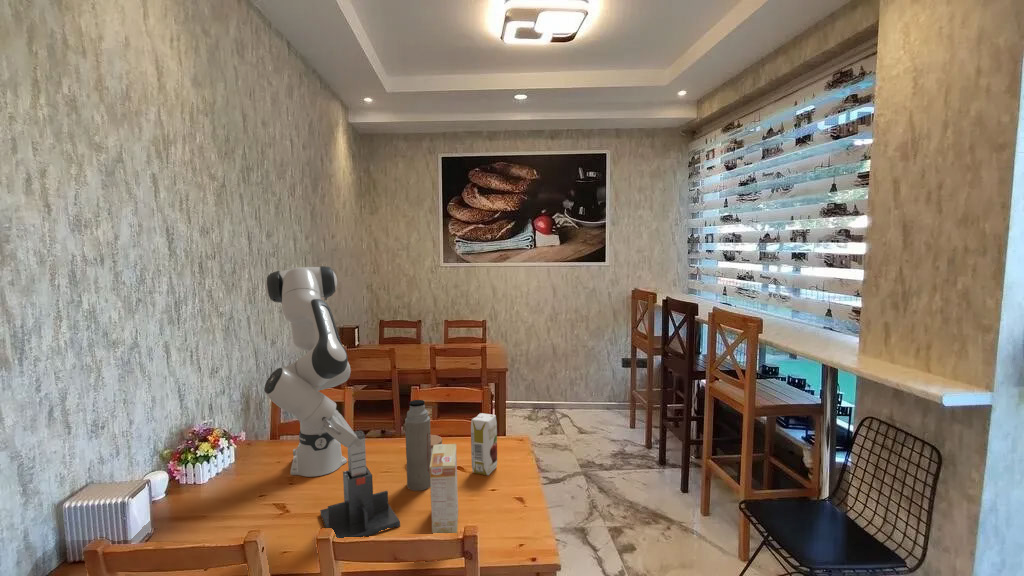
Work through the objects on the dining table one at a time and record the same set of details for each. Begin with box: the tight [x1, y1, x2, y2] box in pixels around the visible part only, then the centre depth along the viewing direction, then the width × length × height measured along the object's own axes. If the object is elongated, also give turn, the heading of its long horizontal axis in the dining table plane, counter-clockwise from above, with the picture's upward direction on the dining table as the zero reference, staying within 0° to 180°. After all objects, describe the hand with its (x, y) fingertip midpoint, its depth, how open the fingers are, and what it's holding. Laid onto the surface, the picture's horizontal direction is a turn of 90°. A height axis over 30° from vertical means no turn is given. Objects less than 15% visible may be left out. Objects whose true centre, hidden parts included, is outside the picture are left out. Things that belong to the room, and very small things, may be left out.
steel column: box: [347, 430, 367, 479], centre depth 138 cm, size 4×4×24 cm
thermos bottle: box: [404, 399, 432, 492], centre depth 159 cm, size 8×8×28 cm
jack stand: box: [319, 465, 401, 538], centre depth 139 cm, size 18×18×14 cm
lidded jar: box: [431, 434, 443, 456], centre depth 178 cm, size 11×11×9 cm
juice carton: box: [470, 412, 498, 476], centre depth 169 cm, size 8×9×19 cm
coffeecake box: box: [430, 443, 459, 534], centre depth 138 cm, size 15×7×20 cm, turn 5°
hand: (358, 440), depth 138 cm, fingers closed on steel column, 4 cm apart
